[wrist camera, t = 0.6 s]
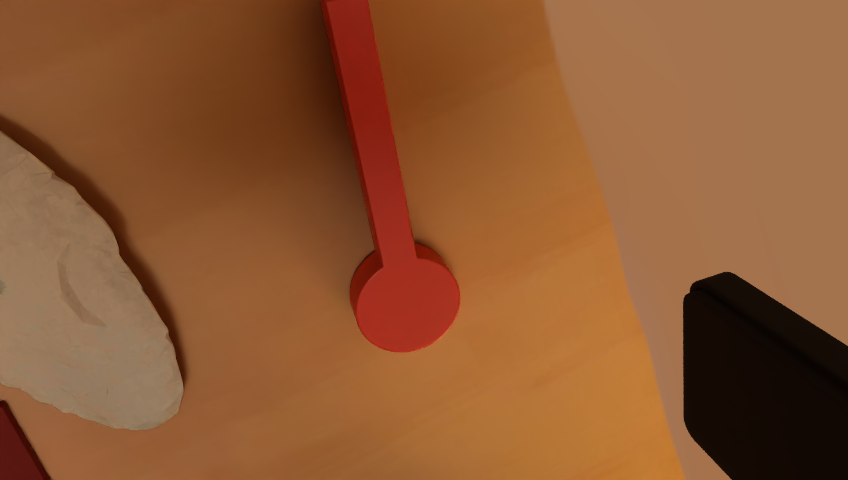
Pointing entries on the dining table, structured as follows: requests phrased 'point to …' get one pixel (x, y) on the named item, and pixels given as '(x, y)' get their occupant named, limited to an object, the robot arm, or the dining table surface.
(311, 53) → the dining table surface
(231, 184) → the dining table surface
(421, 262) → the red spoon
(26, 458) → the maroon mat
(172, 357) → the stone
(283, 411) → the dining table surface
